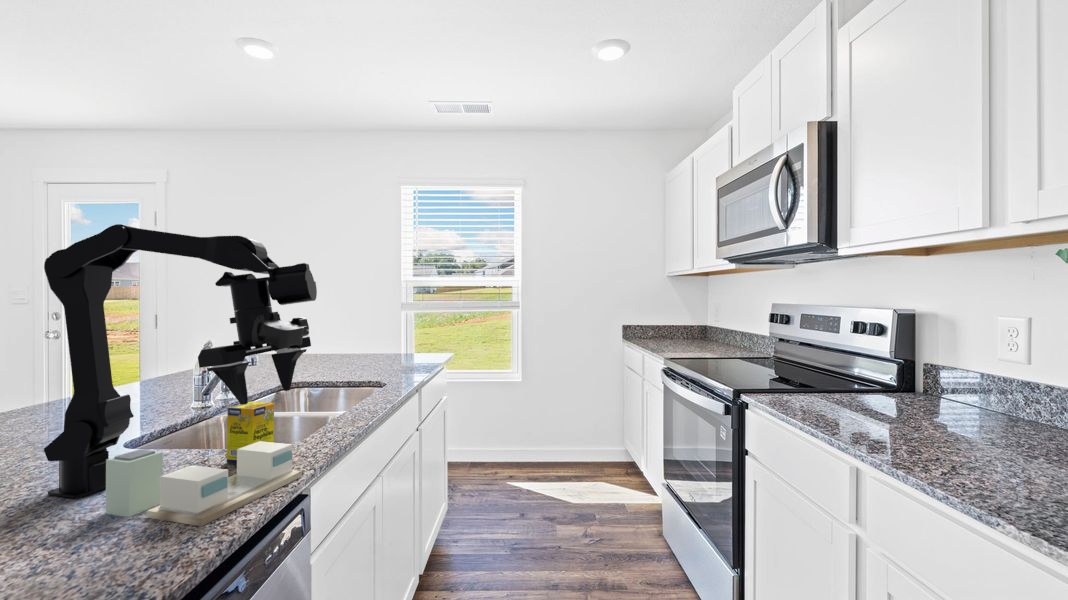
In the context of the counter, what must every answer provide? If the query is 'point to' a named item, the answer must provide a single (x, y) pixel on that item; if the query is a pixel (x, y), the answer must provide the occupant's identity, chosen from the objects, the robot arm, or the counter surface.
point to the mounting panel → (227, 506)
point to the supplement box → (248, 426)
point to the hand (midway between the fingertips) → (266, 397)
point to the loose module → (133, 482)
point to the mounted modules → (222, 477)
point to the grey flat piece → (232, 491)
